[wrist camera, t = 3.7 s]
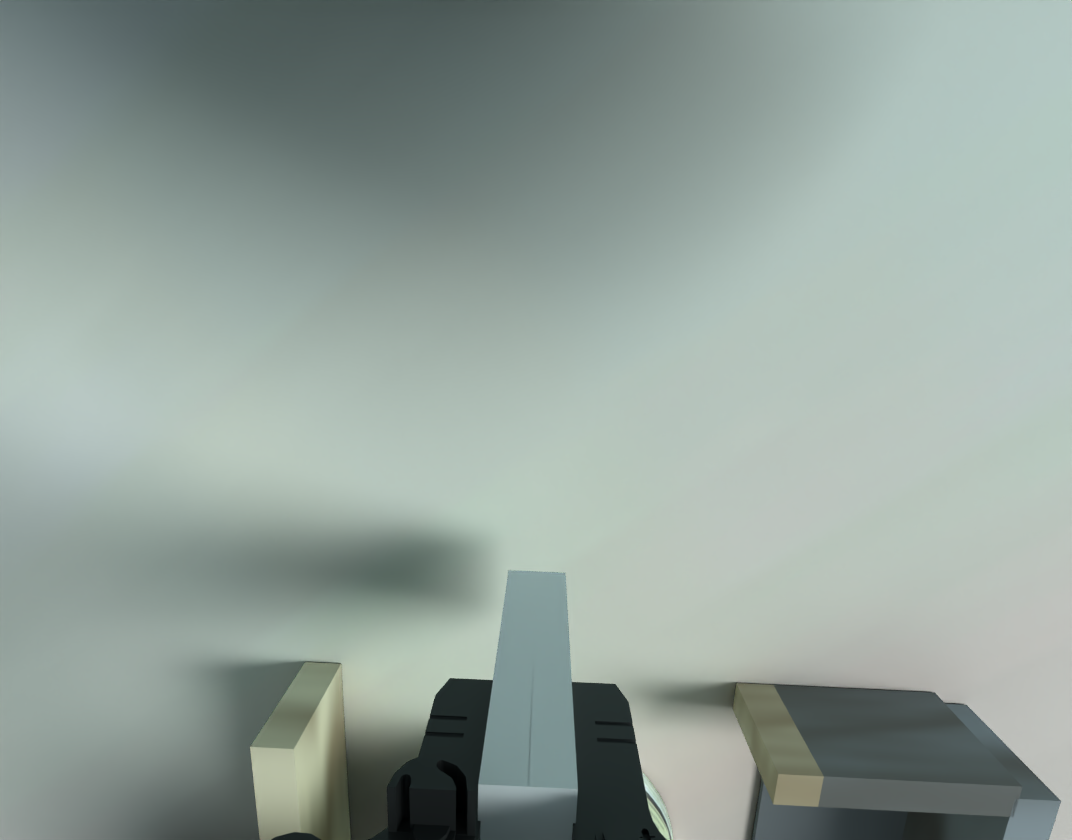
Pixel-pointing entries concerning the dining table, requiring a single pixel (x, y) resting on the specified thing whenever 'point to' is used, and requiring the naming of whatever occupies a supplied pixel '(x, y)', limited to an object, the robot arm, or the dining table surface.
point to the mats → (824, 822)
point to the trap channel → (772, 736)
